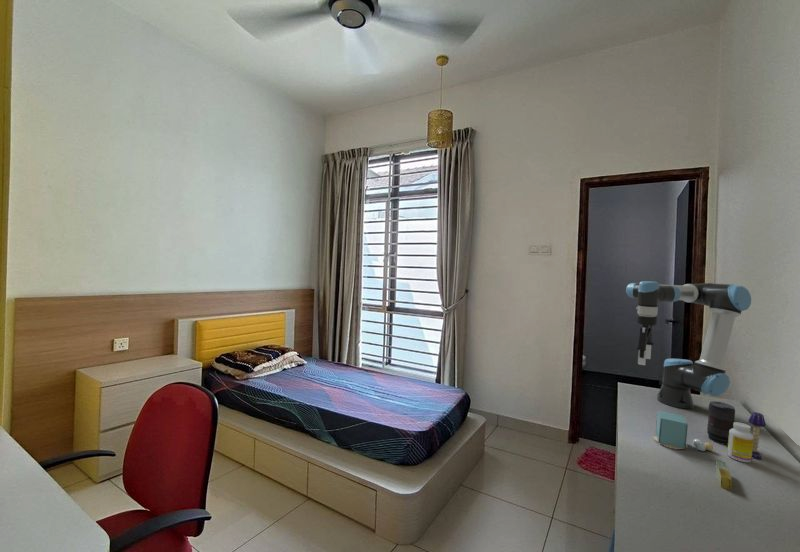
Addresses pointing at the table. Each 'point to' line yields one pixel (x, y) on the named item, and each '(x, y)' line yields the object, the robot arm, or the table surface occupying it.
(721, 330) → the robot arm
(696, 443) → the marble
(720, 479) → the medication box
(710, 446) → the marble
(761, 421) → the toy lamp
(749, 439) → the supplement bottle
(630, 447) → the table surface
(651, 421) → the table surface
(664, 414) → the teal cube
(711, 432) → the camera lens
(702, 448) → the marble
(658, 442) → the coaster
